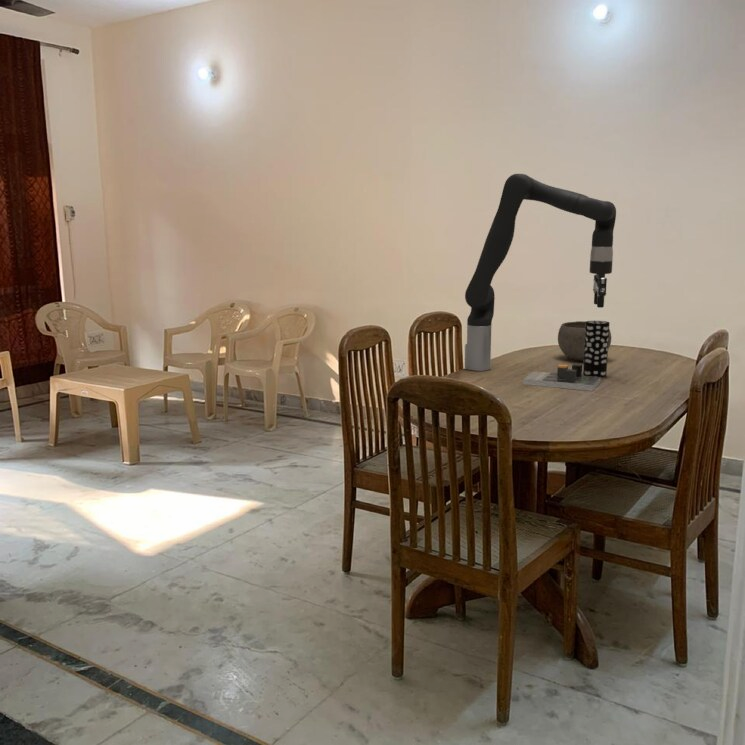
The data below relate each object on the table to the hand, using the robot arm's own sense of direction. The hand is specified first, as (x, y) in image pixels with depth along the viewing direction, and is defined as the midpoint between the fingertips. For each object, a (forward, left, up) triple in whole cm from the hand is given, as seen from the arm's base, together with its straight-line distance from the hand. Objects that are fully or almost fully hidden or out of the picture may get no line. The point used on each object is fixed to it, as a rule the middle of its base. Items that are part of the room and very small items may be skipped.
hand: (598, 305), depth 271 cm
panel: (-9, -11, -27) cm, 30 cm away
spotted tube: (-1, +7, -27) cm, 28 cm away
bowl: (-11, +37, -27) cm, 48 cm away
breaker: (-9, -11, -24) cm, 28 cm away
